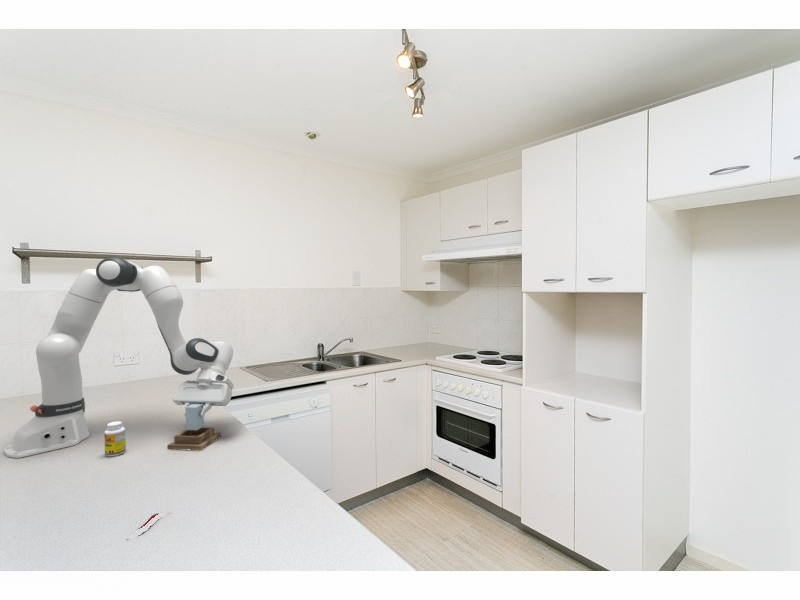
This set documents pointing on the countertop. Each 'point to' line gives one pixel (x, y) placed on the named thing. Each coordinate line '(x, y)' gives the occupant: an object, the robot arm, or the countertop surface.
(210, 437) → the board
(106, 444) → the supplement bottle
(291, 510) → the countertop surface
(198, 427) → the block
